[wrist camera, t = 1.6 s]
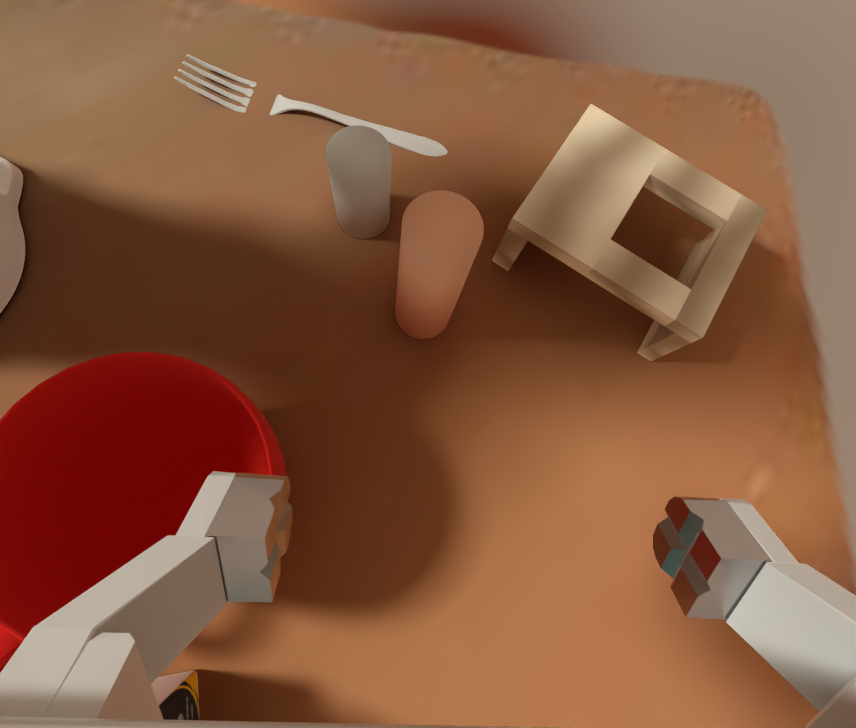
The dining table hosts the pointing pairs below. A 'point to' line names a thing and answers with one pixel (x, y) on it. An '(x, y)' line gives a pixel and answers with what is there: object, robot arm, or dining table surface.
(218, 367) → the dining table surface
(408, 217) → the long dowel
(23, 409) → the ceramic cup
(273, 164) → the dining table surface
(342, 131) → the short dowel
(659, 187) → the bridge
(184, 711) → the medicine bottle
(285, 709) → the dining table surface
